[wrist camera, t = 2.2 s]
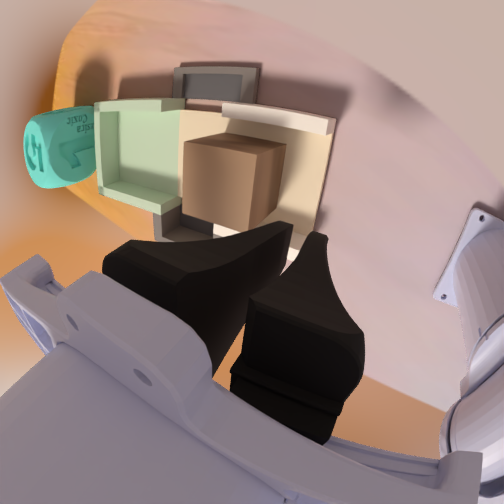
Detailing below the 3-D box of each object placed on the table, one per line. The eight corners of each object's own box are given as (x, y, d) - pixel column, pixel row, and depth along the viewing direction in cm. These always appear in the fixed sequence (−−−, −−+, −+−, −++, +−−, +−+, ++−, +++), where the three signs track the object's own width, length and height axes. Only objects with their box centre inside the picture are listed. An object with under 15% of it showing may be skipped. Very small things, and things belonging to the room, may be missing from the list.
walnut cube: (286, 144, 18) (257, 154, 15) (276, 207, 21) (247, 234, 17) (224, 132, 20) (183, 141, 16) (220, 191, 23) (182, 213, 19)
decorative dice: (108, 171, 29) (51, 194, 23) (75, 162, 31) (27, 181, 25) (107, 105, 24) (45, 118, 18) (74, 105, 27) (21, 119, 20)
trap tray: (342, 80, 15) (335, 74, 13) (301, 273, 24) (290, 293, 21) (118, 74, 22) (95, 76, 20) (121, 208, 30) (102, 217, 28)
